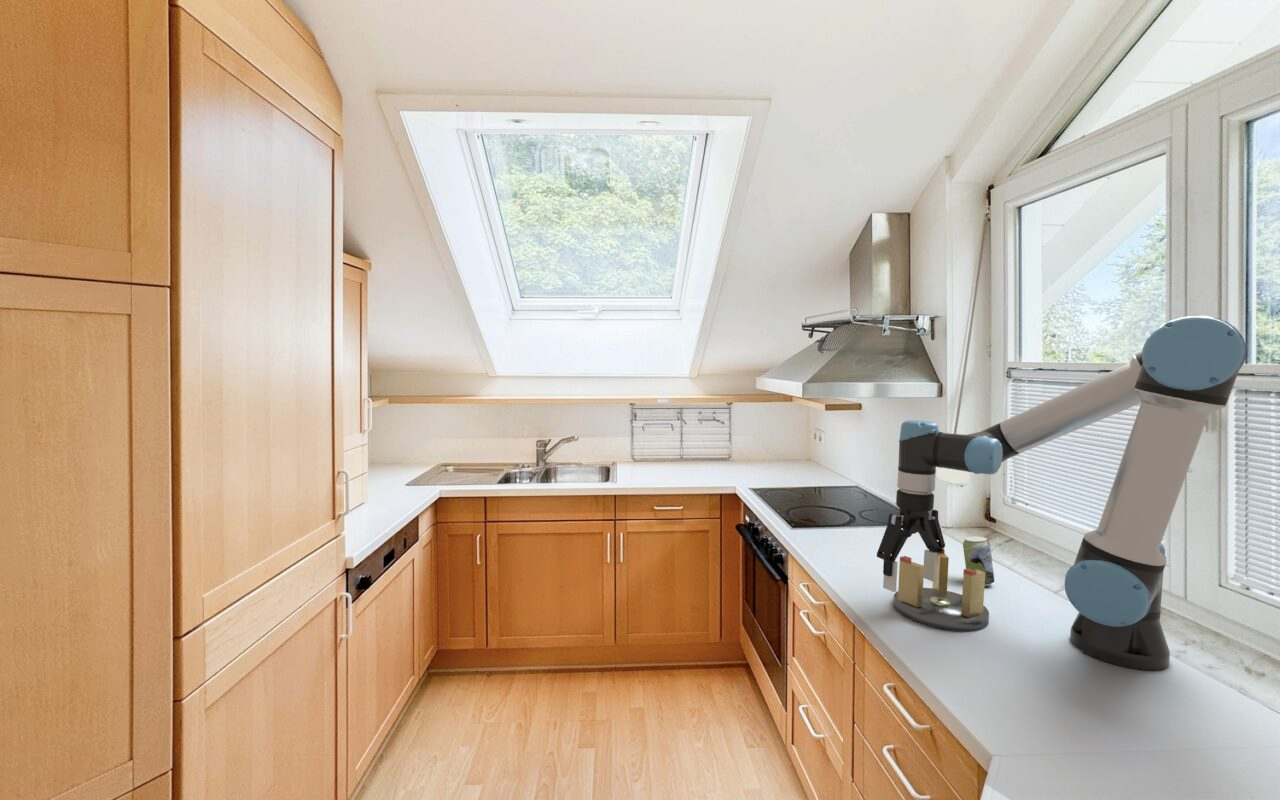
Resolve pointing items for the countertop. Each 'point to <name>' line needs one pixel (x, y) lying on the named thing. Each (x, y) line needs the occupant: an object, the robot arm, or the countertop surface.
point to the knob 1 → (910, 582)
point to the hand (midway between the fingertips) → (909, 584)
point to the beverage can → (979, 556)
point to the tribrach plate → (942, 612)
